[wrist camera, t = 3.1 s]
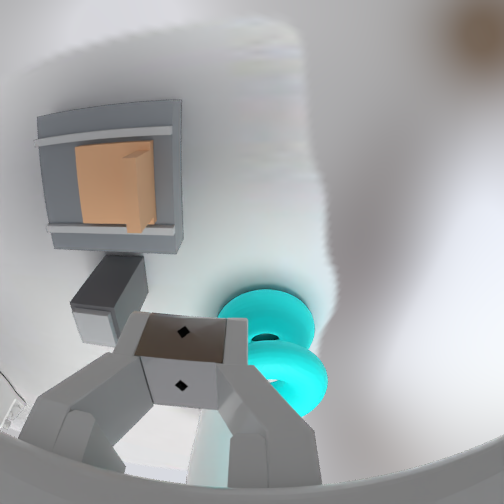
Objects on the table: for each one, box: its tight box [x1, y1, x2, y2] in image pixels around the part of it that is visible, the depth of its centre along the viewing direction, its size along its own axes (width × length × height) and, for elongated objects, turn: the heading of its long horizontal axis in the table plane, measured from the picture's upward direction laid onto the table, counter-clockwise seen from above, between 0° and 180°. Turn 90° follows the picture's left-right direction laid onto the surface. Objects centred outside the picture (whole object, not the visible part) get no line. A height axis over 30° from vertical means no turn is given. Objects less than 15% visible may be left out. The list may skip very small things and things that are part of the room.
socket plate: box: [34, 100, 183, 254], centre depth 23 cm, size 12×12×4 cm
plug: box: [70, 255, 148, 348], centre depth 25 cm, size 4×4×9 cm
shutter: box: [75, 140, 157, 233], centre depth 20 cm, size 6×6×4 cm
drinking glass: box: [186, 409, 233, 487], centre depth 31 cm, size 7×7×15 cm
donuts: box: [217, 289, 328, 417], centre depth 27 cm, size 10×10×10 cm
